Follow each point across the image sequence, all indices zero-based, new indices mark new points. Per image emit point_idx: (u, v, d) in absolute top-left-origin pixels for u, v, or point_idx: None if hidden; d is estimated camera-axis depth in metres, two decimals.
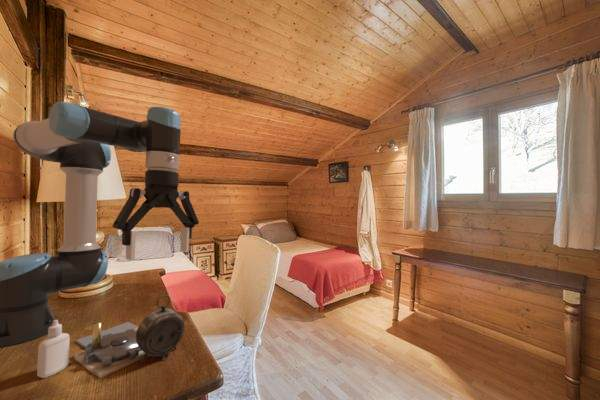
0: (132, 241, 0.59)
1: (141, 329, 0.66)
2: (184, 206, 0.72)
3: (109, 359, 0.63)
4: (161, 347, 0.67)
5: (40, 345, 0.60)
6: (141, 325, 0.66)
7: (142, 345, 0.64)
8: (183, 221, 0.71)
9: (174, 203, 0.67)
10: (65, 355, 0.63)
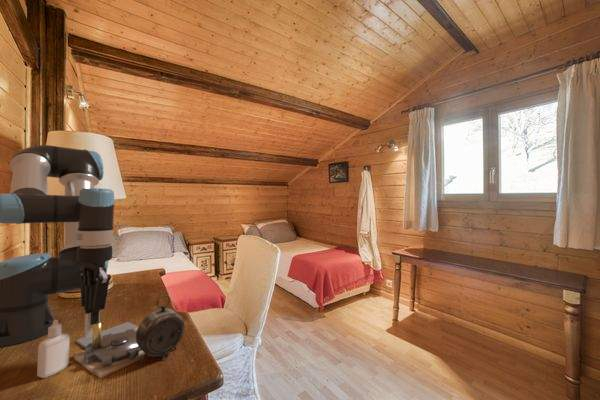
0: (85, 320, 0.69)
1: (141, 329, 0.66)
2: None
3: (109, 359, 0.63)
4: (161, 347, 0.67)
5: (40, 345, 0.60)
6: (141, 325, 0.66)
7: (142, 345, 0.64)
8: None
9: (88, 280, 0.68)
10: (65, 355, 0.63)
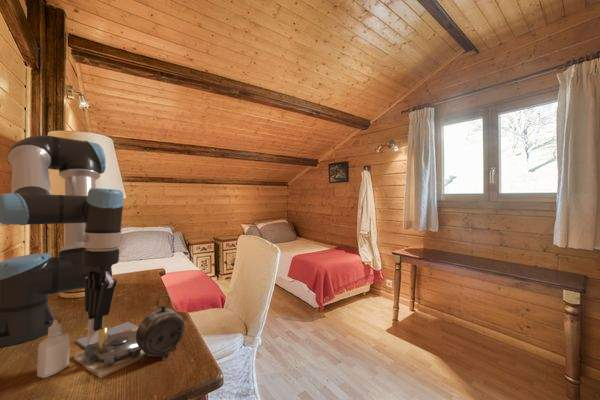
0: (88, 326, 0.66)
1: (141, 329, 0.66)
2: None
3: (139, 350, 0.68)
4: (162, 347, 0.67)
5: (40, 345, 0.60)
6: (141, 325, 0.66)
7: (142, 345, 0.64)
8: None
9: (93, 284, 0.65)
10: (65, 355, 0.63)
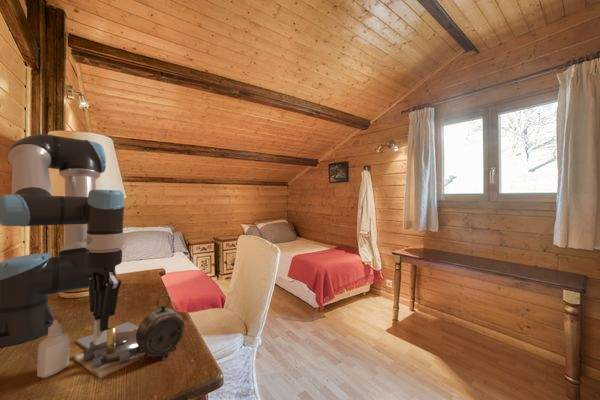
0: (94, 326, 0.66)
1: (141, 329, 0.66)
2: None
3: None
4: (161, 347, 0.67)
5: (40, 345, 0.60)
6: (141, 325, 0.66)
7: (142, 345, 0.64)
8: None
9: (97, 285, 0.65)
10: (65, 355, 0.63)
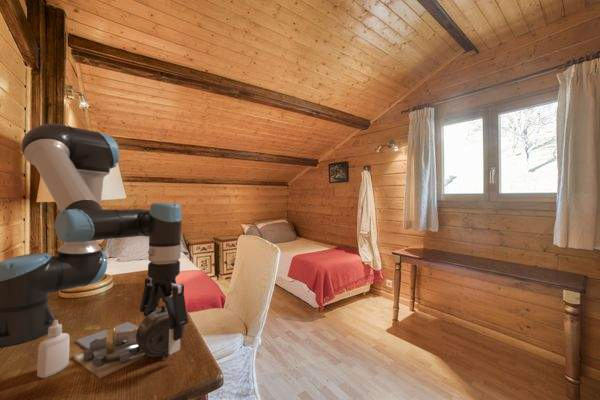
0: None
1: (141, 329, 0.66)
2: None
3: None
4: (161, 347, 0.67)
5: (40, 345, 0.60)
6: (141, 325, 0.66)
7: (142, 345, 0.64)
8: None
9: (162, 296, 0.67)
10: (65, 355, 0.63)
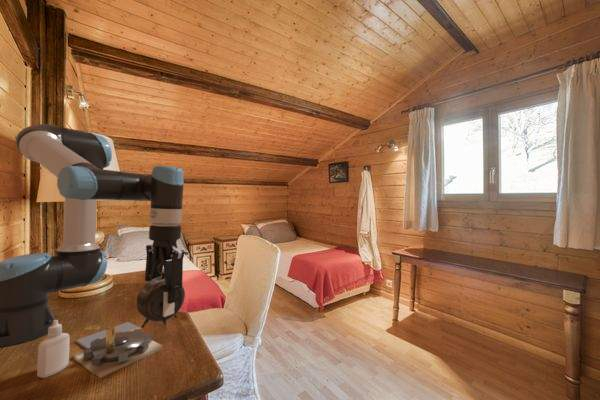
0: None
1: (142, 294, 0.66)
2: None
3: (147, 344, 0.70)
4: None
5: (40, 345, 0.60)
6: (142, 291, 0.67)
7: (143, 309, 0.65)
8: None
9: (161, 258, 0.67)
10: (65, 355, 0.63)
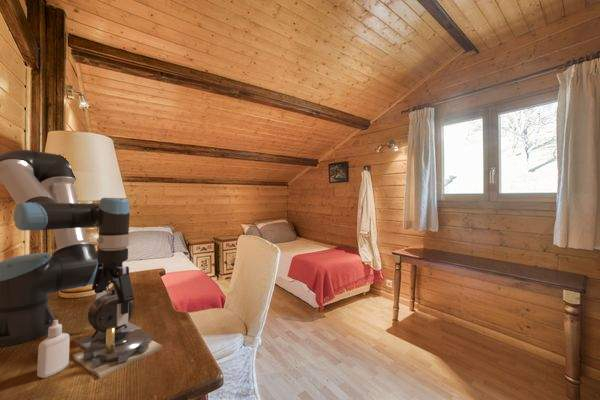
0: (95, 300, 0.82)
1: (92, 309, 0.75)
2: None
3: (147, 344, 0.70)
4: (111, 325, 0.77)
5: (40, 345, 0.60)
6: (92, 306, 0.76)
7: (92, 322, 0.74)
8: None
9: (110, 278, 0.77)
10: (65, 355, 0.63)
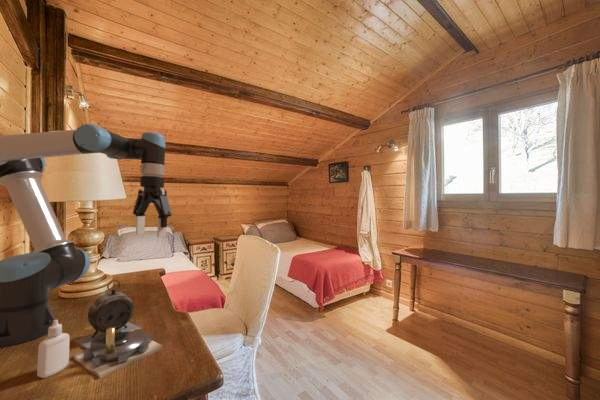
0: (136, 222, 0.97)
1: (92, 309, 0.75)
2: None
3: (147, 344, 0.70)
4: (111, 325, 0.77)
5: (40, 345, 0.60)
6: (92, 306, 0.76)
7: (92, 322, 0.74)
8: None
9: (151, 199, 0.92)
10: (65, 355, 0.63)
